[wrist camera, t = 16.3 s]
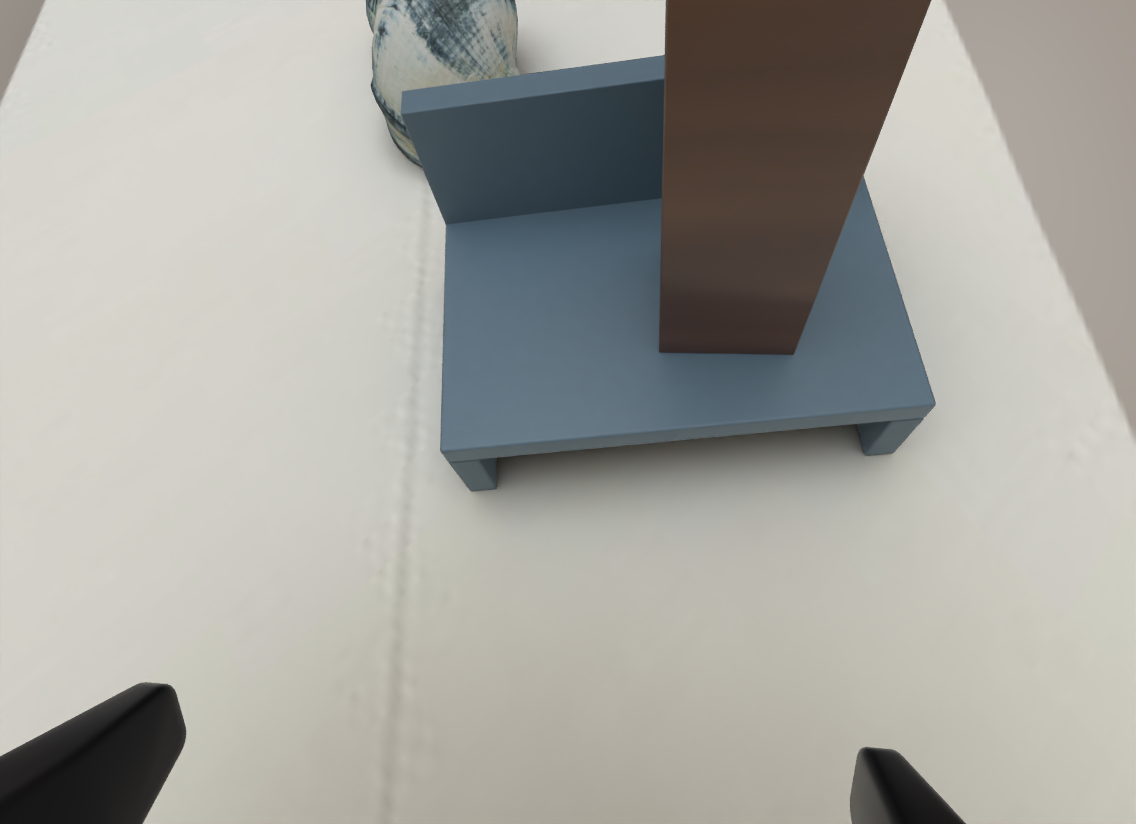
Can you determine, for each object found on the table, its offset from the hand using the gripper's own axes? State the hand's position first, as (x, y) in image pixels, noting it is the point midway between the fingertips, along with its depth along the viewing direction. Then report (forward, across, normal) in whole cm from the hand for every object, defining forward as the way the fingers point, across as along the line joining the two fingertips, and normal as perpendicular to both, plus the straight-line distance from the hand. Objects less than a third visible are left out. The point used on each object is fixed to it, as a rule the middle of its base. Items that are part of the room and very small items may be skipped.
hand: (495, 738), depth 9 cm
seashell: (+29, +8, -10) cm, 32 cm away
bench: (+19, -2, 0) cm, 19 cm away
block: (+16, -4, -3) cm, 17 cm away
